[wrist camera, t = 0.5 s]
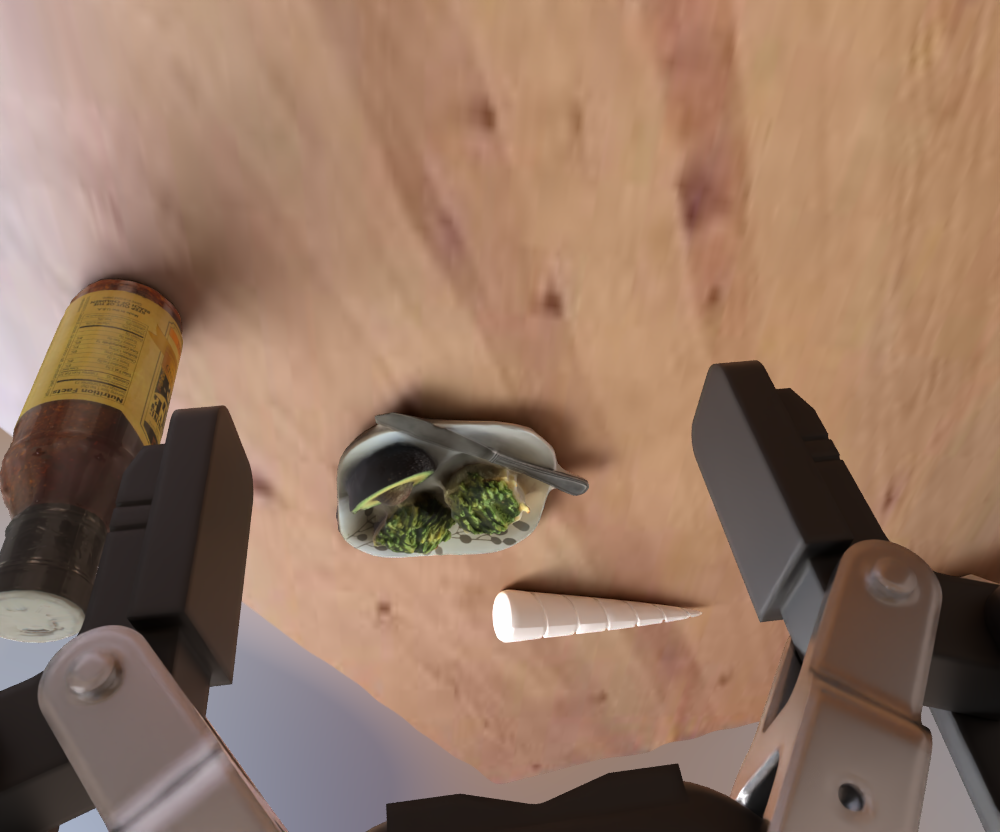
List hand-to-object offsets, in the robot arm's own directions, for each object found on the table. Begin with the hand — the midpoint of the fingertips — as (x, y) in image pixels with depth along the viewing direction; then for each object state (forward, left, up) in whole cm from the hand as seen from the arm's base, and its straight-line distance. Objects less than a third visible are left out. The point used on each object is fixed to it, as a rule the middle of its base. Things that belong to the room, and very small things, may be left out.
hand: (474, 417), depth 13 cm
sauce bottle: (+18, -17, -28) cm, 38 cm away
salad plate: (+36, 0, -28) cm, 46 cm away
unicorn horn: (+58, +15, -28) cm, 66 cm away
